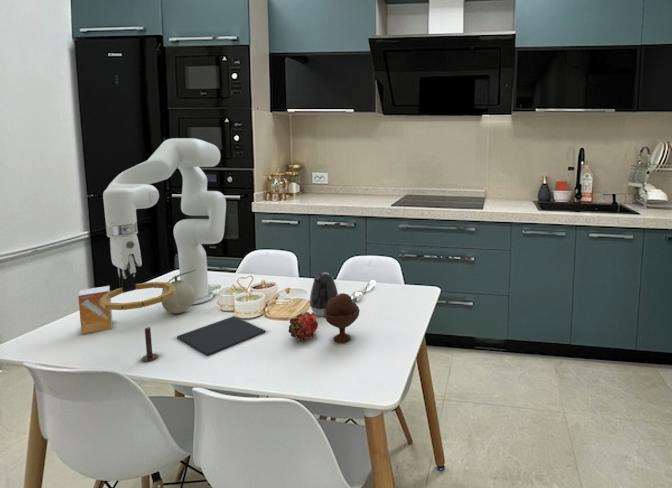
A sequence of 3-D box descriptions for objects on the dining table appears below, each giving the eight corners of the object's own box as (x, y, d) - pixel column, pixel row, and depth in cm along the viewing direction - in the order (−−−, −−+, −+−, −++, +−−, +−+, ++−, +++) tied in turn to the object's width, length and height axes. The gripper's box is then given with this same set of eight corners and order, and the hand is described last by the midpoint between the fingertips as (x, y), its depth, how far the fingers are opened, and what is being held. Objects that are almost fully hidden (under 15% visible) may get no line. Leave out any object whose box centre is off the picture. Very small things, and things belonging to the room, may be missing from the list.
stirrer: (368, 275, 184) (378, 276, 183) (368, 283, 185) (378, 284, 184) (348, 294, 165) (359, 295, 164) (348, 303, 166) (360, 304, 165)
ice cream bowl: (365, 333, 139) (364, 288, 137) (349, 350, 128) (347, 301, 126) (336, 329, 142) (335, 285, 140) (317, 344, 132) (316, 297, 130)
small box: (81, 334, 139) (77, 295, 137) (83, 327, 144) (79, 289, 143) (112, 328, 143) (108, 290, 142) (113, 321, 148) (109, 285, 147)
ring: (159, 282, 137) (158, 278, 137) (185, 294, 127) (185, 290, 126) (91, 299, 123) (91, 295, 123) (115, 315, 113) (114, 310, 112)
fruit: (153, 316, 153) (149, 275, 151) (181, 304, 163) (178, 266, 162) (175, 320, 149) (172, 278, 147) (202, 308, 160) (199, 269, 158)
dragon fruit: (293, 351, 131) (308, 339, 142) (316, 336, 130) (328, 324, 142) (278, 328, 131) (294, 317, 143) (300, 312, 131) (314, 302, 143)
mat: (233, 317, 152) (233, 316, 151) (265, 332, 140) (265, 330, 140) (177, 337, 136) (176, 336, 136) (207, 356, 125) (207, 354, 125)
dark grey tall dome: (303, 316, 152) (302, 274, 150) (321, 305, 162) (319, 266, 160) (328, 321, 148) (327, 278, 147) (344, 309, 158) (343, 269, 156)
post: (154, 353, 127) (152, 324, 126) (160, 357, 124) (158, 327, 123) (139, 359, 124) (136, 328, 123) (145, 363, 121) (142, 332, 120)
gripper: (147, 230, 126) (152, 291, 128) (126, 224, 135) (131, 281, 137) (117, 235, 120) (123, 299, 122) (97, 228, 129) (103, 287, 131)
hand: (127, 289), depth 130 cm, fingers closed on ring, 1 cm apart
